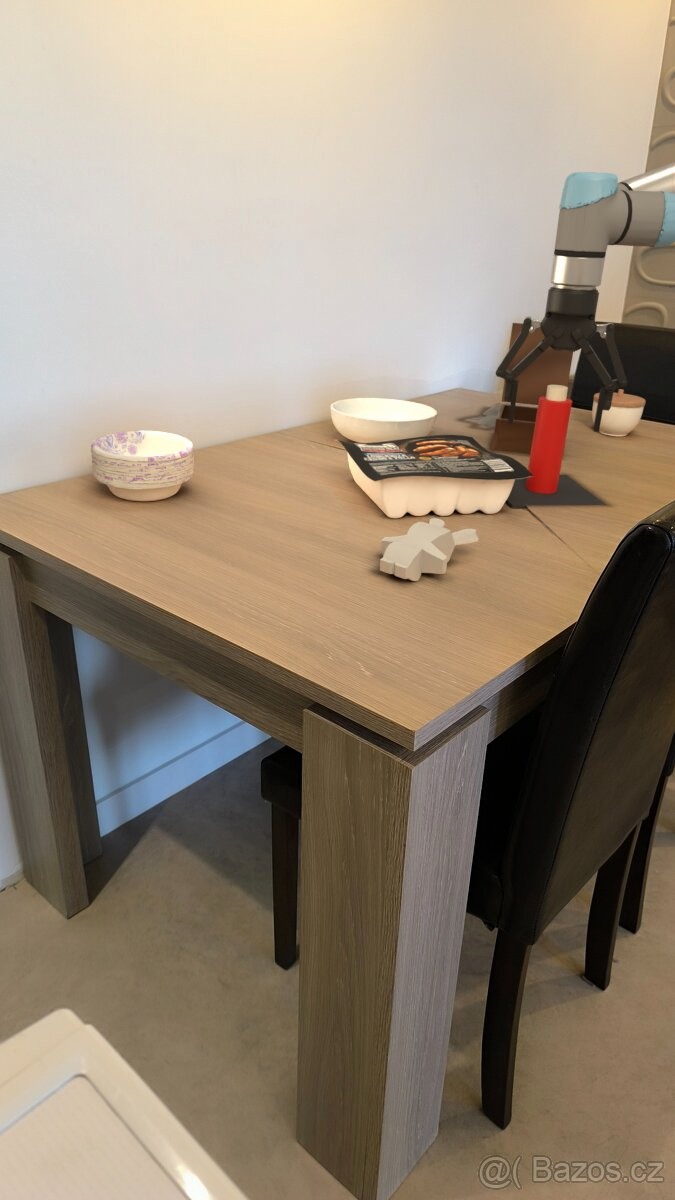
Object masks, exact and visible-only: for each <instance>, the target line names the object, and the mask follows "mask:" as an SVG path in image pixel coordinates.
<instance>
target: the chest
mask: <svg viewBox="0 0 675 1200" xmlns="http://www.w3.org/2000/svg"><path fill="white" fill-rule="evenodd" d="M500 404H501V406H500V409H499V412H498V415H497V418H496V423H495V428H494V431H493V440H492V446H491V450H492V451H500V452H508V453H515V454H516V453H517V454H526V455H530V454H531V448H532V441H533V435H534V429H535V422H536V416H537V409H538V406H528V405H519V404H518V405H517V404H516V405H515V412H514V420H513V424H509V423H508V419H509V411H510V403H508V404H507V403H500Z"/></svg>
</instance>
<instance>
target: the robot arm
mask: <svg viewBox="0 0 675 1200" xmlns="http://www.w3.org/2000/svg"><path fill="white" fill-rule="evenodd" d="M558 209H559V213H558V220H557V226H556V227H557V228H556V234H555V235H556V236H555V243H554V250H553V255H552V263H551V268H550V276H549V283H551V284H553V285H552V286H550V287H549V288H548V291H547V297H546V303H545V304H546V305H545V312H544V316H543V319H542V320H541V319H536V318H532V317H531V316H525V318H524V319H523V322H522V324H523V326H522V330H521V332H520V334H519V336H518V337H517V339H516V340H515V342H514V343H513V345H512V346H511V348H510V350H509V349H508V351H507V353H505V354H506V355H505V356H504V357H503V359H502V360H501V362H500V364H499V365H498V367H497V368H496V371H495V376H496V377H498V378H500V379H503V381H504V380H505V381H506V386H505V394H504V400H505V401H507V402H506V403H509V405H510V411H509V419H508V423H509V424H513V420H514V412H515V405H517V403H516V397H517V390H518V382H519V380H514V379H515V378H516V377H518V376H519V375H520V374H521V373H522V372H523V371H524V370H525V369H526V368H527V367H528V366H529V365H530V364H531V363H532V362H533V361H534V360H535V359H536V358H537V357H539V356H540V355H541V354H542V353H543V352H544V351H545V350H546V349H547V348H548V347H549V346H550V347H551V348H552V349H554V350H558V351H560V350H567V351H571V352H573V353H575V352H578V351H579V350H581V351H582V352H583V354H584V355H585V357H586V358H587V360H588V361H589V363H590V364H591V367H592V368H593V369H594V371H595V373H596V374H597V376H598V377H599V379H600V380H601V382H602V383H603V385H604V386H605V387H603V386H601V387H600V389H599V393H600V394H599V399H598V405H597V411H596V416H595V422H593V432H594V433H599V429H600V423H601V417H602V412H603V410H607V411H609V409H610V408H611V403H612V397H613V393H615V390H617V389H622V388H625V387H627V386H628V379H627V376H626V373H625V370H624V366H623V364H622V360H621V356H620V354H619V350H618V346H617V344H616V340H615V332H616V326H615V324H614V323H613V322H611V321H609V322H607V323H596V315H597V309H598V308H597V307H598V303H599V297H600V292H599V289H597V287H600V286H601V285H602V279H603V272H604V267H605V260H606V255H607V251H608V247H609V246H626V247H627V246H628V247H649V248H652V249H655V248H657V247H658V248H659V247H669V246H671V245H672V244H674V243H675V161H673V162H671V163H668V164H665V165H662V166H660V167H656V168H655V169H651V170H648V171H646V172H644V173H641V174H638V175H635V176H633V177H629V178H627V179H625V180H622V181H619V178H618V175H617V174H615V173H609V172H591V171H577V172H572V173H570V174H568V175H567V177H566V178H565V180H564V185H563V188H562V193H561V198H560V203H559V206H558ZM536 328H540V329H541V331H542V333H543V335H544V336H545V338H544V339H543V340H542V341H541V342H540V343H539V344H538V345H537V346H536V347H535V348H534V349H533V350H532V351H531V352H530V353H529V354H528V355H527V356H526V357H525V358H524V359H523V360H522V361H520V362H519V363H518V364H517V365H516V366H515V367H514V368H513V369H512V370H511V371H508V370H506V369H507V368H508V366H509V364H510V363H511V361H512V360H513V358H514V357H515V355H516V354H517V352H518V351H519V349H520V347H521V346H522V344H523V343H524V341H525V340H526V338H527V336H528V334H529V333H533V332H534V331H535V329H536ZM596 333H599V335H600V338H601V339H605V343H606V347H607V349H608V353H609V356H610V360H611V363H612V366H613V368H614V372H615V375H616V378H615V379H612V377H611V376H610V374H609V372H608V371H607V369H606V368H605V367H604V366H605V365H603V363H602V362H601V360H600V358H599V357H598V355H597V353H596V352H595V351H594V349H593V347H592V346H591V344H590V342H589V340H590V339H591V338H593V336H594V335H595V334H596Z"/></svg>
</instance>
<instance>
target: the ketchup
mask: <svg viewBox="0 0 675 1200" xmlns="http://www.w3.org/2000/svg"><path fill="white" fill-rule="evenodd" d="M568 391H569V386H568V387H566V386H561V385H548V387H547V393H546V396H542V397H540V398H539V403H538V405H537V407H538V409H537V416H536V422H535V429H534V435H533V441H532V448H531V454H529V455H530V456H529V461H528V468H527V470H528V471H529V472H530V473H531V474H532V475H533V476H532V477H527V480H526V486H525V487H526V489H527V490H529V491H532V492H535V493H541V494H551V493H555V492H556V491H557V487H558V481H559V475H561V470H562V462H563V458H564V453H565V452H564V451H565V446H566V440H567V434H568V429H569V423H570V417H571V412H572V404H573V400H572V399H570V398H567V397H568Z"/></svg>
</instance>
